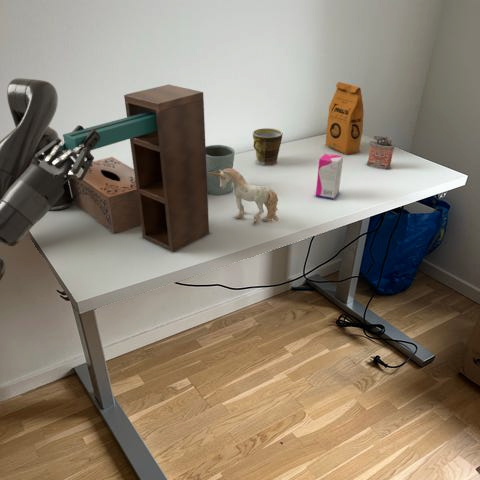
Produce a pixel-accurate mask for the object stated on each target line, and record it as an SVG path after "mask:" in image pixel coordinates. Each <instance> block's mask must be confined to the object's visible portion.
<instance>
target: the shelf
mask: <svg viewBox="0 0 480 480" xmlns="http://www.w3.org/2000/svg"><path fill="white" fill-rule="evenodd" d="M123 99H124V105H125V113H126V118H127V117H130V116H134V115H138V114H142V113H145V112H149V111H150V112H153V113H156V118H157V129H158V130H157V131H154V132H151V133H147V134H144V135H141V136H137V137H134V138H131V139H129V144H130V150H131V157H132V158H131V159H132V165H133V169H134V174H135V181H136V189H137V196H138V204H139V211H140V219H141V225H140V226H141V233H142V239H144V240H146V241H148V242H150V243H152V244H154V245H156V246H159V247H160V248H162V249H164V250H167V251H169V252H171V253H174V252H177V251H178V250H180V249H182V248H184V247H186V246H188V245H190V244H192V243H194V242H196V241H198V240H200V239H202V238H204V237H205V236H207V235H209V234H210V222H209V220H210V219H209V197H208V194H209V193H207V170H206V146H207V145H206V123H205V99H204V91H201V90H195V89H191V88H186V87H182V86H178V85H174V84H164V85H160V86H156V87H151V88H146V89H143V90H139V91H134V92H130V93H126V94H124V95H123Z"/></svg>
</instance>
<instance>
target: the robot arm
mask: <svg viewBox="0 0 480 480" xmlns="http://www.w3.org/2000/svg"><path fill="white" fill-rule="evenodd" d="M6 98H7V104H8V108H9V112H10V114H11V117H12V120H13V123H14V127H15V128H14V129H12V130H11V131H10V132H9V133H7V134H6V136H5V137H3V138H1V140H0V243H1V244H3V245H6V246H8V247H14V246H16V245H18V244H19V243H20V242H21V241H22V240H23V238H24V237H25V236H26V235H27V233H29V231H30V230H31V229H32V228H33V227H34V225H36V224H37V223H38V222H39V221H40V220H42V219H43V218H44V216H45V215H46V214H47V213H48V212H49V211H58V210H63V209H66V208H69V207H70V206H72V205H73V203H74V202H73V198H72V194H71V189H70V185H69V180H70V179H71V178H77V179H78V180H79V181H81V180H83V179H84V177H85V175H86V173H87V171H88V169H89V167H90V166H91V164H92V162H93V161H95V157H94V155H93V154H92V153H91V151H93V150H92V149H93V147H94V146H95V145H96V144H97V143H98V142H99V140H100V138H101V137H100V135H99V134H98V133H97V131H95V130H91V131H90V133H89V134H88V135H87V136H86V137H85V139H84V140H83V141H82V142H81V144H79V145H78V146H77V147H76V148H74V149H73V150H72V149H69V150H66V148H65V143H64V138H63V137H62V139H61V138H60V137H59V133H58V131H56V129H54V128H52V127H50V124H51V123H52V121H53V119H54V117H55V114H56V113H57V109H58V104H59V95H58V92H57V89H56V88H55V86H54V85H53V84H52V83H51V82H49V81H47V80H43V79H35V78H33V79H32V78H24V77H23V78H22V77H17V78H14V79H11V81H10V82H9V83H8V85H7V89H6ZM82 129H85V128H84V127H83V126H82V125H77V126H76V127H75V128H73V130H72V131H71V132H74V131H78V130H82ZM80 151H81V152H80ZM79 152H80V154H77V153H79ZM5 272H6V264H5V261H4V260H3V259H2V258H1V257H0V281H2V279H3V277H4V275H5Z"/></svg>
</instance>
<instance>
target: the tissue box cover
mask: <svg viewBox="0 0 480 480" xmlns="http://www.w3.org/2000/svg"><path fill="white" fill-rule="evenodd" d="M68 182H69V186H70V191H71V195H72V198H73V203H74V204H76V205H77V206H79V208H81V209H82V210H84V211H85V212H86V213H87V214H89V215H90V217H93V218H94V219H95V220H97V222H99V223H100V224H102V225H103V226H104V227H105V228H107V229H108V230H109V231H110V232H112V233H113V234H116V233H119V232H123V231H126V230H129V229H132V228H135V227H139V226H141V219H140V211H139V204H138V196H137V189H136V181H135V174H134V168H132V167H131V166H129V165H127V164H125V163H124V162H122V161H120V160H119V159H117V158H116V157H113V156H110V157H106V158H102V159H98V160H93V162H92V164H91V166H90V167H89V169H88V171H87V173H86V175H85V177H84V179H83V180H81V181H79V180H78V179H77V178H71V179H70V180H69V181H68Z"/></svg>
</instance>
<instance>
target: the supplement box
mask: <svg viewBox="0 0 480 480" xmlns="http://www.w3.org/2000/svg"><path fill="white" fill-rule="evenodd" d="M343 160H344V155H341V154H340V155H339V154H332V153H327V152H326V153H324V154H323V155H322V156H321V157H320V158H318V169H317V179H316V188H315V197H317V198H322V199H327V200H335V199H336V197H337V196H339V193H340V187H341V186H340V185H341V177H342V170H343V162H344V161H343Z"/></svg>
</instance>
